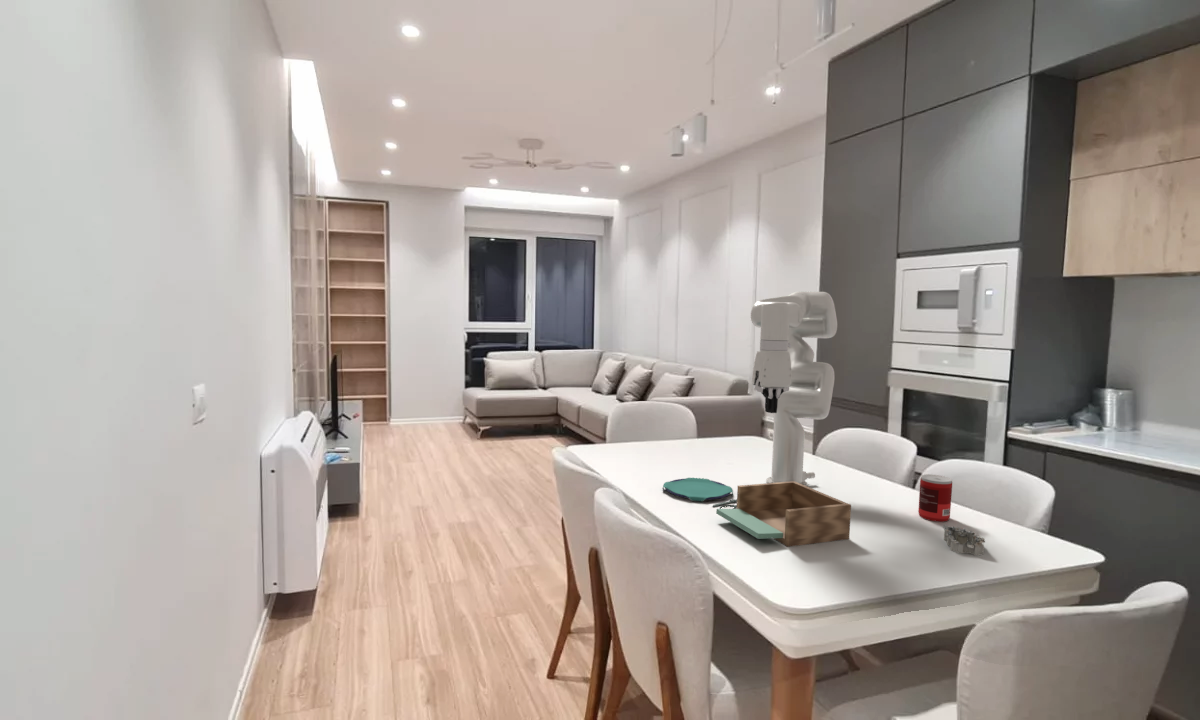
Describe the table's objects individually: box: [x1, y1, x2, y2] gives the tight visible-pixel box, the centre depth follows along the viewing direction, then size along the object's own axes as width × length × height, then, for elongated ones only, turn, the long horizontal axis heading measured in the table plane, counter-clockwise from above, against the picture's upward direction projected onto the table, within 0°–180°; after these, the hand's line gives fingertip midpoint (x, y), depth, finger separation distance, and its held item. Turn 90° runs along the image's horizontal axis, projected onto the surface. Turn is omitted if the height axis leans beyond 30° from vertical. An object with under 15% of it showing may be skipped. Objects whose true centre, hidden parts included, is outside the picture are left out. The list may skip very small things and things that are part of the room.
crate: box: [736, 481, 852, 547], centre depth 157 cm, size 18×22×8 cm
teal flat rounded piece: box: [662, 477, 737, 509], centre depth 183 cm, size 20×30×2 cm, turn 35°
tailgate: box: [716, 508, 783, 540], centre depth 153 cm, size 1×19×7 cm
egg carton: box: [943, 524, 986, 556], centre depth 147 cm, size 11×8×4 cm
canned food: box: [917, 473, 953, 523], centre depth 168 cm, size 8×8×11 cm
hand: (770, 412), depth 172 cm, fingers closed
